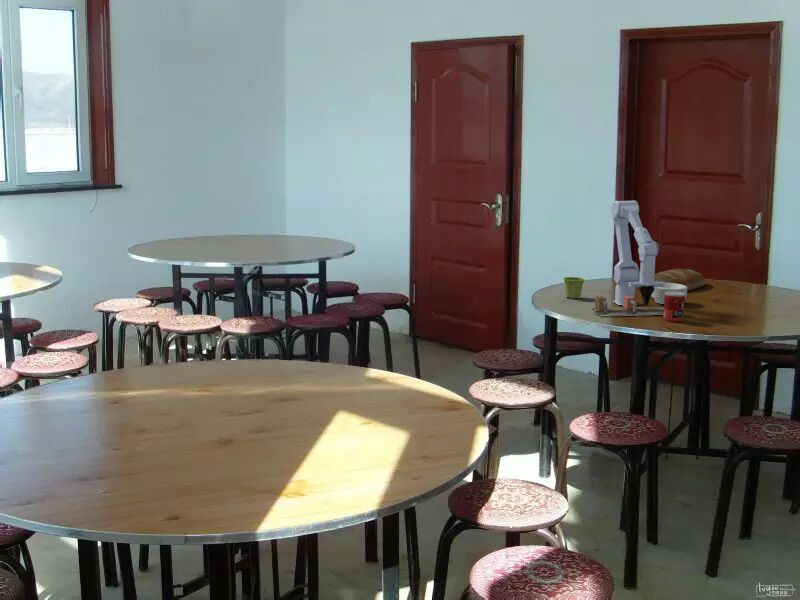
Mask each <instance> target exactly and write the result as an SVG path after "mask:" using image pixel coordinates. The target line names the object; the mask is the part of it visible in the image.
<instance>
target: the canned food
mask: <svg viewBox="0 0 800 600" xmlns="http://www.w3.org/2000/svg"><path fill="white" fill-rule="evenodd" d="M685 306H686V298H685V293H683V292H675V291H670V292H665V299H664V305H663V307H664V316H663V320H664V321H665V322H667V321H669V322H668V323H675V322H678V323H682V322H684V320H685Z"/></svg>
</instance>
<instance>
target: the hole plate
mask: <svg viewBox="0 0 800 600" xmlns="http://www.w3.org/2000/svg"><path fill="white" fill-rule="evenodd" d="M595 313H597V314H598V315H621V316H636V317H643V316H642V315H650V316H649V317H652V316H651V315H664V311H637V312H595Z"/></svg>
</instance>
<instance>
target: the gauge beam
mask: <svg viewBox="0 0 800 600" xmlns="http://www.w3.org/2000/svg"><path fill="white" fill-rule="evenodd" d="M608 305H609V304H608V302H607V297H606V296H604V295H595V305H594V307H591V310H593V311H594V312H633V309H626V308H625V307H623V306H619V307H608ZM637 311H664V306H636V312H637Z"/></svg>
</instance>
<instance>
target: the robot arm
mask: <svg viewBox="0 0 800 600" xmlns="http://www.w3.org/2000/svg"><path fill="white" fill-rule="evenodd" d="M639 213H640V206H639V203H638V201H637V200H635V199H634V200H615V201H614V202H613V203H612V206H611V217H612V221H613V222H614V224H615V234H616V241H617V242H616V243H617V251H618V259H619V261H618V262H617V264H615V266H614V267H613V279H614V281H615V283H616V286H615V291H614V300H612V302H613V303H614V302H615V303H616V305H617V304H618V305H617V306H619V305H622V306H621V307H623V303H624V296H632V297H633V298H635V297H636V295H635V294H636V288H638V290H639V291H640V292H639V293H640V294H641V298H642V303H643V305H644V306H649V304H650V303H649V302H650V299H651V295H652V293H653V292H654V290H655V288H654V287H665V282H654V274H656V273H655V271H656V257H657V256H658V255H659V250H660V248H659V244H658V242H656V241H654V240H653V239H652V237H651V235H650V232H649V231H648V229H647V228H646V227H643V223H642V220H641V218H640V216H639ZM629 223H630V225H631V227H632V228H633V230H634V233H633V236H634V238H635V241H636V242H637V245H638V249H637V251H638V255H639V257H638V258H639V261H640V267H639V266H638V263H636V262H635V261H634V260H633V259H632V250H631V241H630V234H629ZM639 268H640V269H639ZM635 299H636V298H635ZM615 303H614V304H615ZM636 305H638V304H637V303H636Z"/></svg>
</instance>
